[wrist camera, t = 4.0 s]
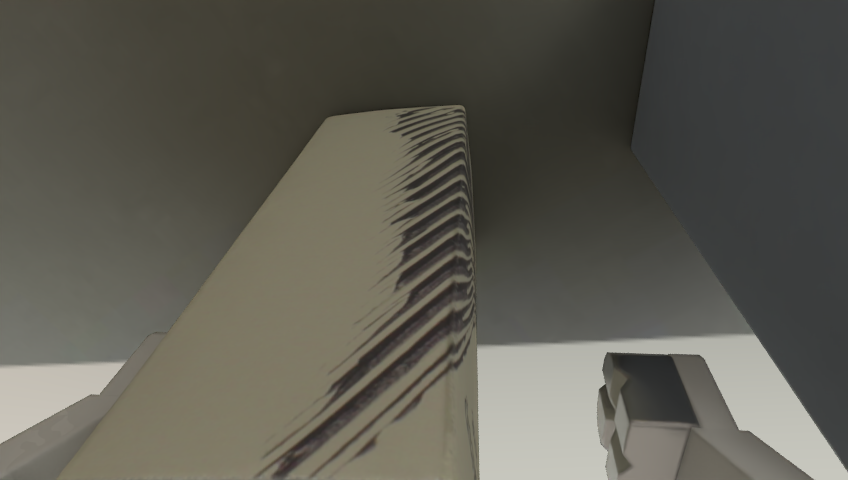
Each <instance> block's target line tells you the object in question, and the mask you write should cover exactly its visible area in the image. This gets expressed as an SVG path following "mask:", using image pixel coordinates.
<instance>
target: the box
mask: <svg viewBox="0 0 848 480" xmlns="http://www.w3.org/2000/svg"><path fill="white" fill-rule="evenodd" d="M477 376H478V375H477V317H476V252H475V228H474V207H473V188H472V172H471V160H470V151H469V141H468V131H467V121H466V112H465V108H464V107H463V106H461V105H450V106H433V107H416V108H403V109H390V110H379V111H370V112H361V113H353V114H346V115H338V116H332V117H328V118H326V119H325V121H324V122H323V123H322V125H321V126H320V127H319V129H318V130H317V131H316V133H315V134H314V136H313V137H312V138H311V140H310V141H309V142H308V144H307V145H306V146H305V148H304V149H303V151H302V152H301V153H300V155H299V156H298V157H297V159H296V160H295V161H294V163H293V164H292V166H291V167H290V168H289V169H288V171H287V172H286V174H285V175H284V176H283V178H282V179H281V180H280V181H279V183H278V184H277V186H276V187H275V188H274V190H273V191H272V192H271V194H270V195H269V196H268V198H267V199H266V200H265V202H264V203H263V205H262V206H261V207H260V209H259V210H258V211H257V213H256V214H255V215H254V217H253V218H252V219H251V221H250V222H249V224H248V225H247V226H246V228H245V229H244V230H243V231H242V233H241V234H240V235H239V236H238V238H237V239H236V241H235V242H234V243H233V245H232V246H231V248H230V249H229V250H228V252H227V253H226V254H225V256H224V257H223V258H222V260H221V261H220V262H219V264H218V265H217V266H216V268H215V269H214V270H213V272H212V273H211V274H210V276H209V277H208V279H207V280H206V281H205V283H204V284H203V285H202V287H201V288H200V289H199V291H198V292H197V294H196V295H195V296H194V298H193V299H192V300H191V302H190V303H189V305H188V306H187V307H186V309H185V310H184V311H183V313H182V314H181V315H180V316H179V318H178V319H177V320H176V322H175V323H174V324H173V326H172V327H171V329H170V330H169V331H168V333H167V334H166V335H165V337H164V338H163V339H162V341H161V342H160V343H159V344H158V346H157V347H156V349H155V350H154V351H153V353H152V354H151V355H150V357H149V358H148V359H147V361H146V362H145V363H144V365H143V366H142V367H141V369H140V370H139V371H138V373H137V374H136V375H135V377H134V378H133V379H132V381H131V382H130V383H129V385H128V386H127V387H126V389H125V390H124V391H123V393H122V394H121V395H120V397H119V398H118V399H117V401H116V402H115V403H114V405H113V406H112V407H111V408H110V409H109V411H108V412H107V413H106V414H105V416H104V417H103V418H102V419H101V421H100V422H99V423H98V425H97V426H96V427H95V429H94V430H93V431H92V433H91V434H90V435H89V437H88V438H87V439H86V441H85V442H84V443H83V445H82V446H81V447H80V449H79V450H78V451H77V453H76V454H75V455H74V457H73V458H72V459H71V461H70V462H69V463H68V464H67V465H66V467H65V468H64V469H63V470H62V472H61V473H60V474H59V476H58V477H57V478H56V480H479V437H478V380H477Z"/></svg>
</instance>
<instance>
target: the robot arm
mask: <svg viewBox="0 0 848 480" xmlns="http://www.w3.org/2000/svg"><path fill="white" fill-rule="evenodd" d="M166 334H167V333H163V332H155V333H153V334H150V335H148V336H147V337H146V339H145V340H144V341H143V342H142V343H141V345H140V346H139V347H138V348H137V350H136V351H135V352H134V353H133V354H132V356H131V357H130V358H129V359H128V360H127V362H126V363H125V364H124V365H123V367H122V368H121V369H120V370H119V371H118V373H117V374H116V375H115V376H114V378H113V379H112V380H111V381H110V382H109V384H108V385H107V386H106V387H105V388H104V390H103V391H102V392H101V393H100V395H89V396H87V397H85V398H84V399H82V400H80V401H78V402H76V403H74V404H73V405H71V406H69V407H67V408H65V409H64V410H62V411H60V412H58V413H56V414H54V415H53V416H51V417H49V418H47V419H45V420H43V421H41V422H40V423H38V424H36V425H34V426H32V427H30V428H29V429H27V430H25V431H23V432H21V433H19V434H18V435H16V436H14V437H12V438H10V439H8V440H7V441H5V442H3V443H1V444H0V480H56V478H57V477H58V476H59V474H60V473H61V472H62V470H63V469H64V468H65V467H66V465H67V464H68V463H69V462H70V461H71V459H72V458H73V457H74V455H75V454H76V453H77V451H78V450H79V449H80V447H81V446H82V445H83V443H84V442H85V441H86V439H87V438H88V437H89V435H90V434H91V433H92V431H93V430H94V429H95V427H96V426H97V425H98V423H99V422H100V421H101V419H102V418H103V417H104V416H105V414H106V413H107V412H108V411H109V409H110V408H111V407H112V406H113V405H114V403H115V402H116V401H117V399H118V398H119V397H120V395H121V394H122V393H123V391H124V390H125V389H126V387H127V386H128V385H129V383H130V382H131V381H132V379H133V378H134V377H135V375H136V374H137V373H138V371H139V370H140V369H141V367H142V366H143V365H144V363H145V362H146V361H147V359H148V358H149V357H150V355H151V354H152V353H153V351H154V350H155V349H156V347H157V346H158V344H159V343H160V342H161V341H162V339H163V338H164V337H165V335H166ZM603 374H604V379H605V383H606V384H605V385H604V386H602V387H601V388H600V389H599V395H598V402H597V423H598V432H599V437H600V443H601V445H602V446H603V447H604V448H605V449H606V450H607V451H608V455H607V461H606V466H605V467H606V472H607V476H608V480H814V479H813V478H811V477H810V476H809V475H807V474H806V473H805V472H803V471H802V470H801V469H799V468H797V466H795V465H794V464H792V463H791V462H790V461H788V460H787V459H786V458H784V457H783V456H782V455H780V454H779V453H778V452H776V451H775V450H774V449H772V448H771V447H770V446H768V445H767V444H766V443H764V442H763V441H762V440H760V439H759V438H758V437H756V436H755V435H754V434H752V433H751V432H750V431H740V430H739V429H738V427H737V425H736V423H735V421H734V419H733V417H732V415H731V413H730V411H729V409H728V407H727V405H726V403H725V400H724V399H723V396H722V394H721V392H720V390H719V388H718V386H717V384H716V382H715V380H714V378H713V376H712V374H711V372H710V370H709V368H708V366H707V364H706V362H705V360H704V358H702V357H701V356H700V355H686V354H684V355H683V354H668V355H664V354H636V353H608V352H607V354H606V356H605V359H604V364H603Z"/></svg>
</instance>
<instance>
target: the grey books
mask: <svg viewBox="0 0 848 480" xmlns="http://www.w3.org/2000/svg"><path fill="white" fill-rule="evenodd" d="M631 150H632V152H633V153H634V155H635V156H636V158H637V159H638V161H639V162H640V164H641V165H642V167H643V168H644V170H645V171H646V173H647V174H648V176H649V177H650V179H651V180H652V182H653V183H654V185H655V186H656V188H657V189H658V191H659V192H660V194H661V195H662V196H663V198H664V199H665V201H666V202H667V204H668V205H669V207H670V208H671V210H672V211H673V213H674V214H675V216H676V217H677V219H678V220H679V222H680V223H681V225H682V226H683V228H684V229H685V231H686V232H687V234H688V235H689V237H690V238H691V240H692V241H693V243H694V244H695V246H696V247H697V249H698V250H699V252H700V253H701V255H702V256H703V257H704V259H705V260H706V262H707V263H708V265H709V266H710V268H711V269H712V271H713V272H714V274H715V275H716V277H717V278H718V280H719V281H720V283H721V284H722V286H723V287H724V289H725V290H726V292H727V293H728V295H729V296H730V298H731V299H732V301H733V302H734V304H735V305H736V307H737V308H738V310H739V311H740V313H741V314H742V316H743V317H744V318H745V320H746V321H747V323H748V324H749V326H750V327H751V329H752V330H753V332H754V333H755V335H756V336H757V338H758V339H759V341H760V342H761V344H762V345H763V347H764V348H765V349H766V351H767V353H768V354H769V356H770V357H771V359H772V360H773V362H774V363H775V364H776V366H777V367H778V369H779V371H780V372H781V373H782V375H783V376H784V378H785V379H786V381H787V382H788V384H789V385H790V387H791V388H792V390H793V391H794V393H795V394H796V396H797V397H798V399H799V400H800V402H801V403H802V405H803V406H804V408H805V409H806V411H807V412H808V414H809V415H810V417H811V418H812V420H813V421H814V423H815V424H816V426H817V427H818V429H819V430H820V432H821V433H822V434H823V436H824V437H825V439H826V440H827V442H828V443H829V445H830V446H831V448H832V449H833V451H834V452H835V454H836V455H837V457H838V458H839V460H840V461H841V463H842V464H843V466H844V467H845V469H846V470H847V472H848V0H655V4H654V10H653V16H652V22H651V28H650V34H649V40H648V46H647V52H646V58H645V64H644V70H643V76H642V82H641V88H640V94H639V101H638V107H637V113H636V119H635V125H634V131H633V137H632V143H631Z"/></svg>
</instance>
